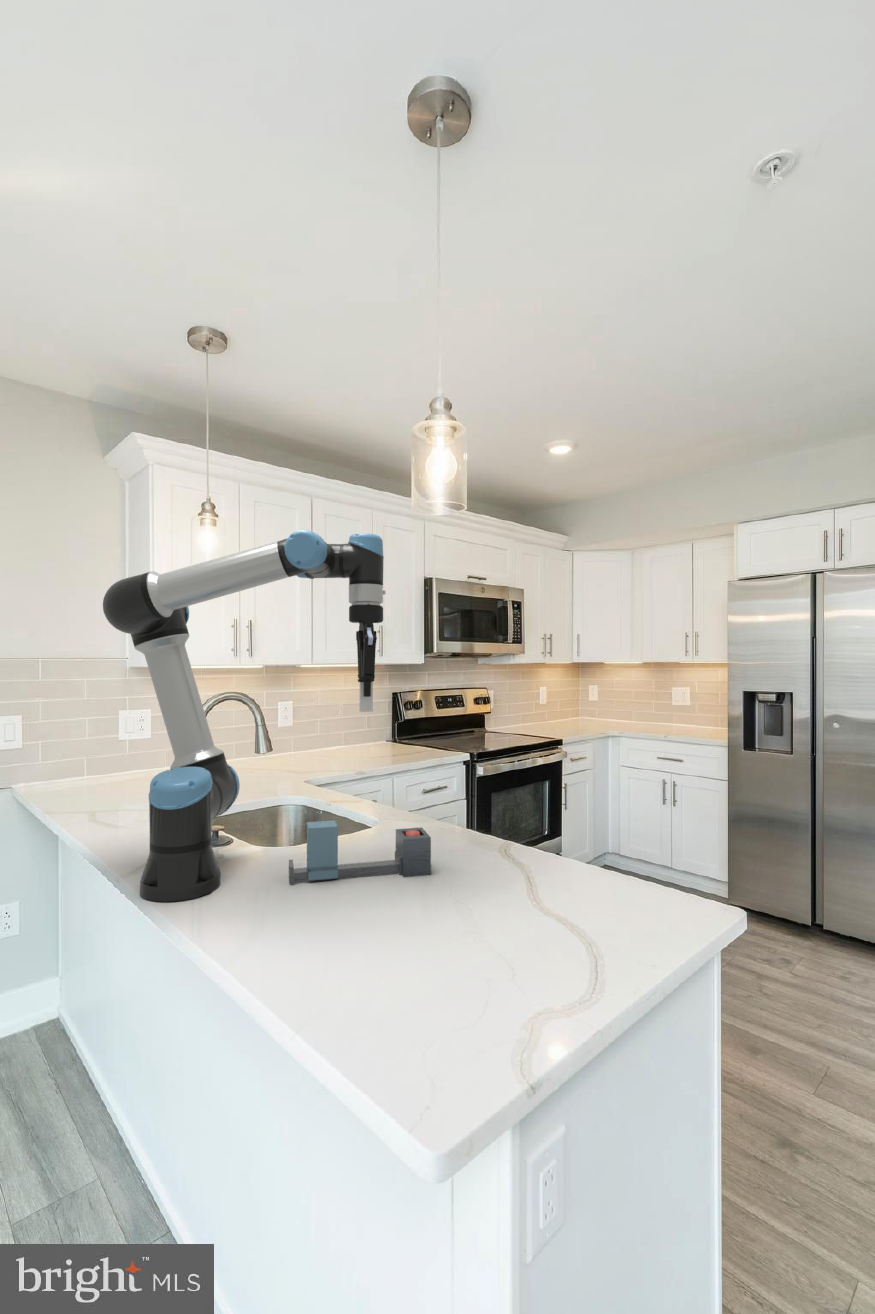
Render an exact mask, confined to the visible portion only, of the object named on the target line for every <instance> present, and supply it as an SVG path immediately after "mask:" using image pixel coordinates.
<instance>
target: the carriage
mask: <svg viewBox="0 0 875 1314" xmlns="http://www.w3.org/2000/svg"><path fill="white" fill-rule="evenodd" d="M338 827H339V826H338V824H337V822H336V820H335V819H334V820H320V821H319V820H317V821H307V822H306V867H307V868H308V881H310V880H321V879H332V878H338V865H339V862H338V861H339V856H338V855H339V854H338V853H339V849H338V848H339V843H338V841H339V840H338V839H339V835H338V834H339V830H338V829H339V828H338ZM332 880H333V879H332ZM321 881H322V880H321ZM310 882H311V881H310Z"/></svg>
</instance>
